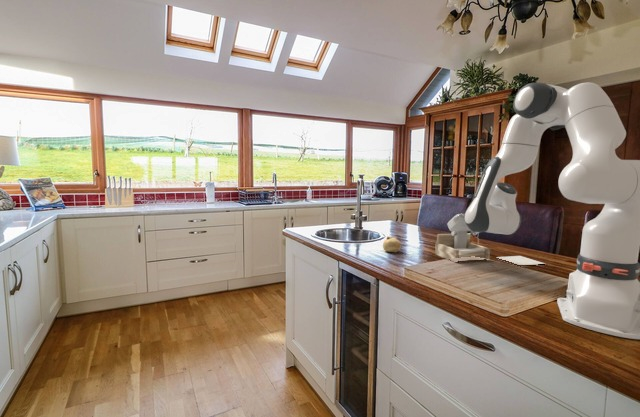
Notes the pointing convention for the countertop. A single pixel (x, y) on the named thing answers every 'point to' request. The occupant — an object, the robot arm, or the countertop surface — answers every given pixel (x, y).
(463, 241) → the beverage can
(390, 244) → the onion
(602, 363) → the countertop surface
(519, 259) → the ceramic tile
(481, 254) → the light wood bar
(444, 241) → the birch rack
